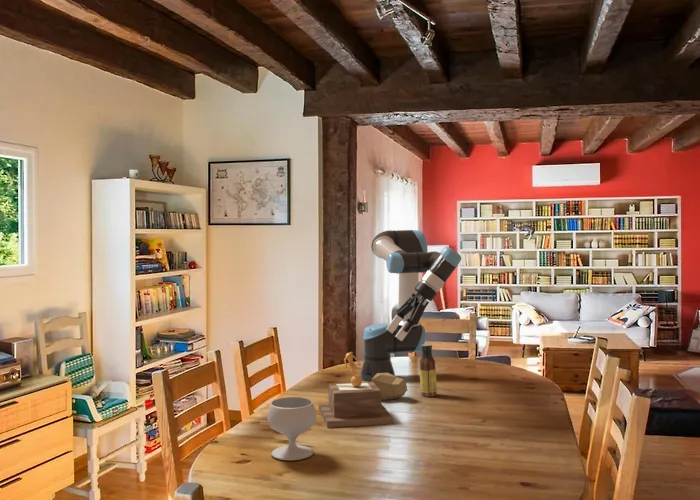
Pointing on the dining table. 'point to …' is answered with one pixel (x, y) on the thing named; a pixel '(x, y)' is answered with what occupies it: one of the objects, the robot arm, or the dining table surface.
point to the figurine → (356, 379)
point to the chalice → (291, 425)
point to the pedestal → (354, 406)
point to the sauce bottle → (427, 372)
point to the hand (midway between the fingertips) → (393, 335)
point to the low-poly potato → (390, 385)
